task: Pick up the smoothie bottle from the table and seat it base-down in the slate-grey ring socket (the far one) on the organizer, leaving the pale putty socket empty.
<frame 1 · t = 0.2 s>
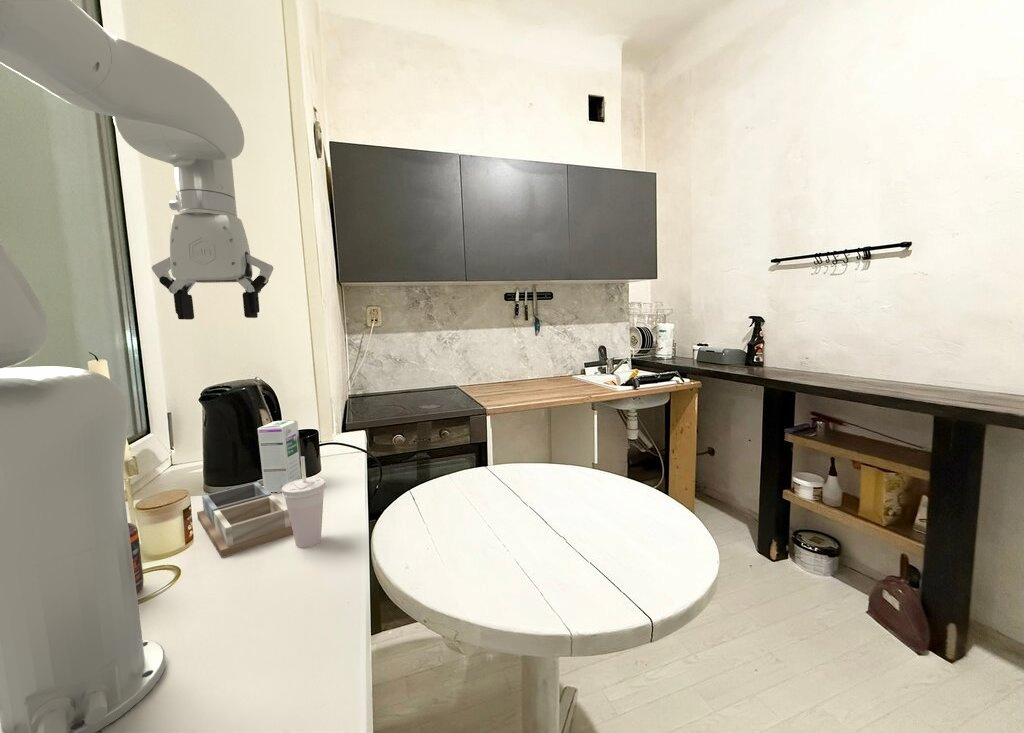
hand: (219, 318, 69), 37 cm above the table, tool pointing down, fingers open, 9 cm apart
smoothie: (308, 543, 69), on the table
supplement bottle: (115, 599, 56), on the table
syrup box: (284, 489, 93), on the table
organizer: (245, 524, 76), on the table
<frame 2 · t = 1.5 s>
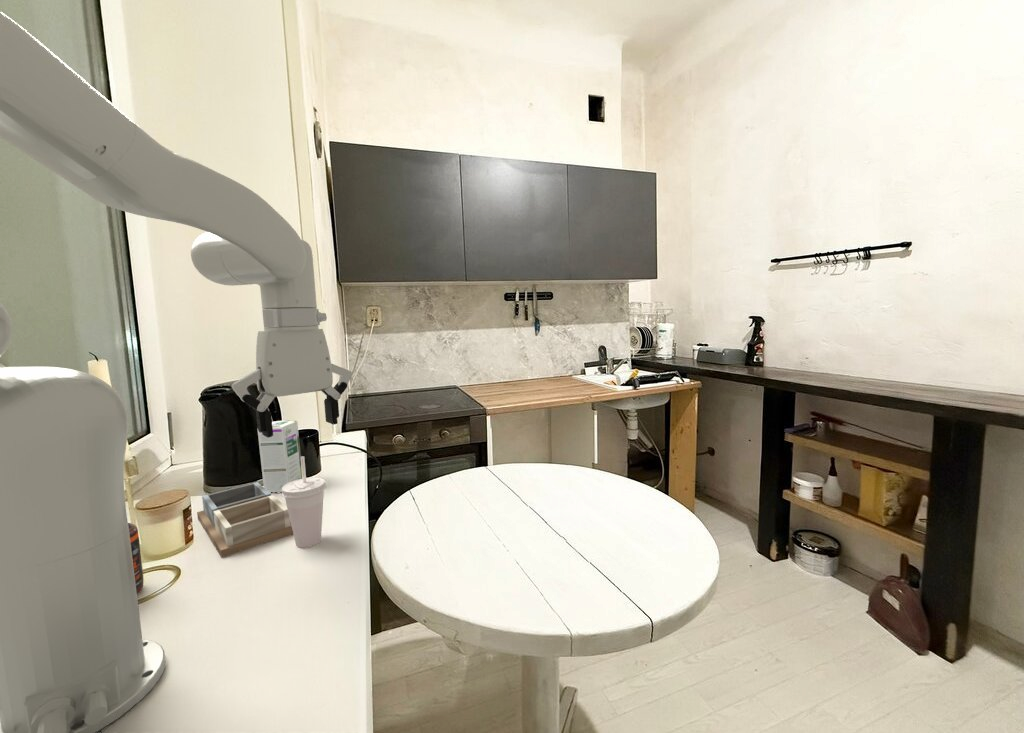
hand: (301, 429, 68), 19 cm above the table, tool pointing down, fingers open, 9 cm apart
nothing on the table moved.
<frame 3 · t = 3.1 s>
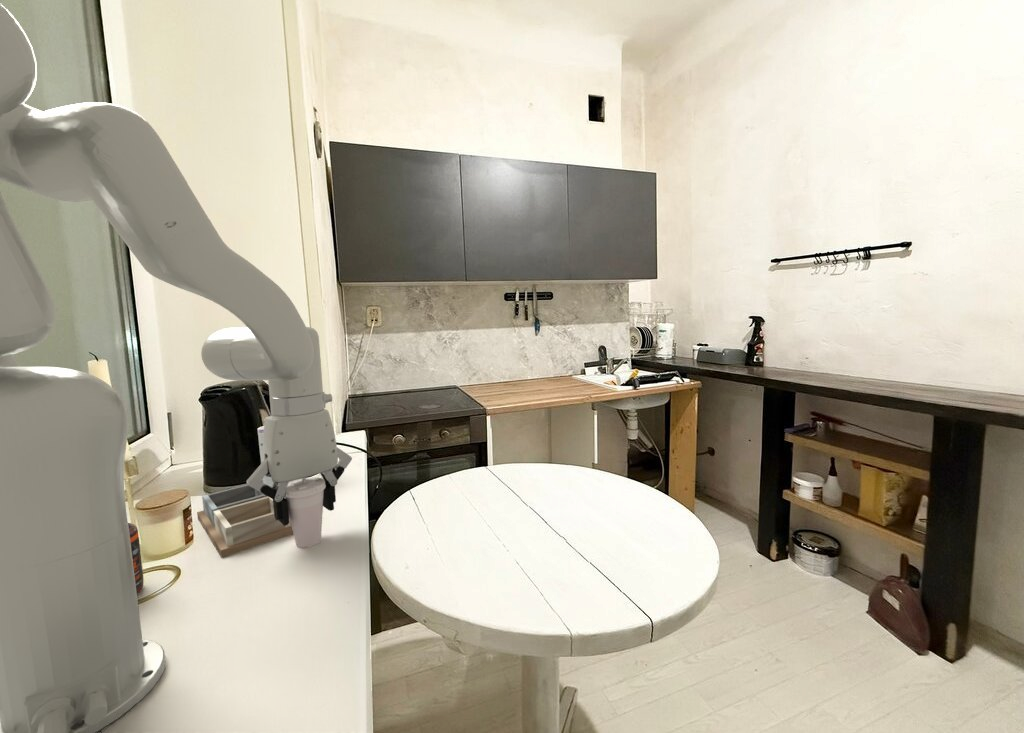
hand: (306, 514, 69), 5 cm above the table, tool pointing down, fingers closed on smoothie, 6 cm apart
smoothie: (308, 542, 69), on the table, touching gripper
everything else where it was.
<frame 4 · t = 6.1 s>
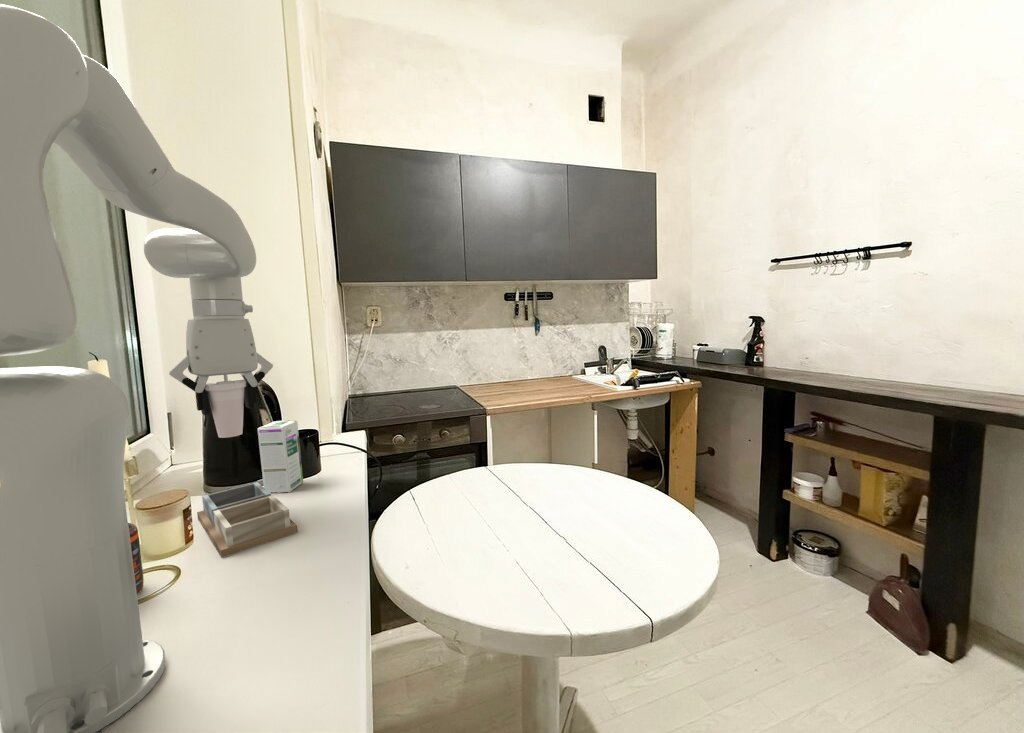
hand: (228, 410, 77), 20 cm above the table, tool pointing down, fingers closed on smoothie, 6 cm apart
smoothie: (230, 436, 78), point 15 cm above the table, touching gripper
everything else where it was.
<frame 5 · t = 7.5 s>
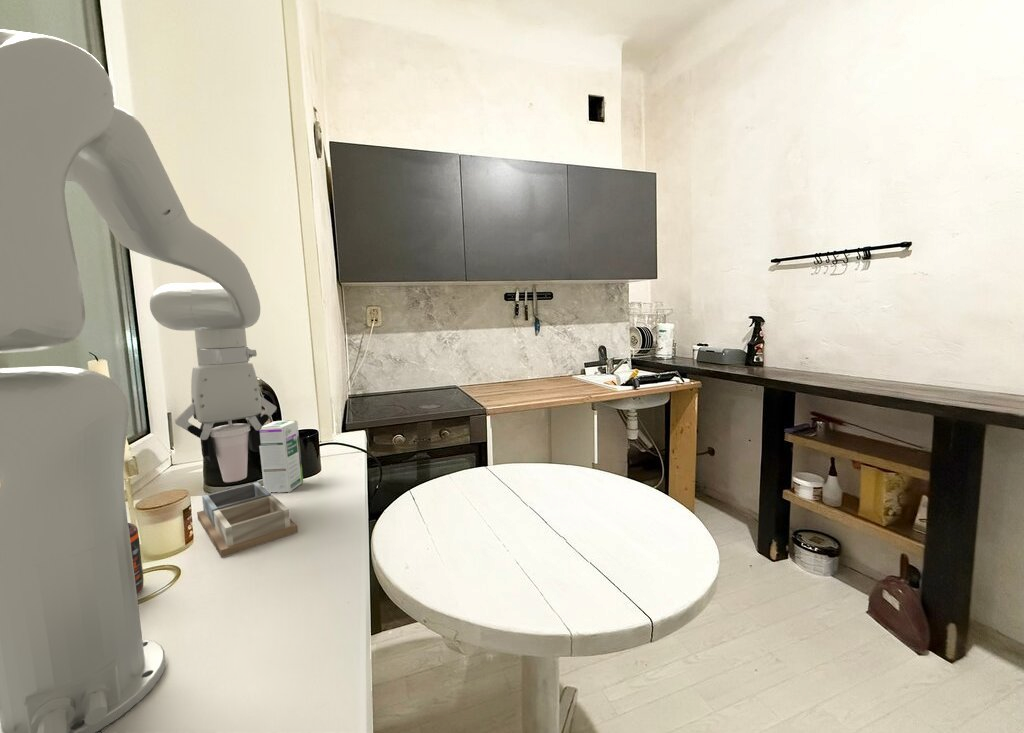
hand: (232, 454, 78), 12 cm above the table, tool pointing down, fingers closed on smoothie, 6 cm apart
smoothie: (235, 479, 79), point 7 cm above the table, touching gripper
everything else where it was.
when the fingers open (7 cm above the table, at t = 8.9 s): smoothie drops 1 cm, resting on organizer.
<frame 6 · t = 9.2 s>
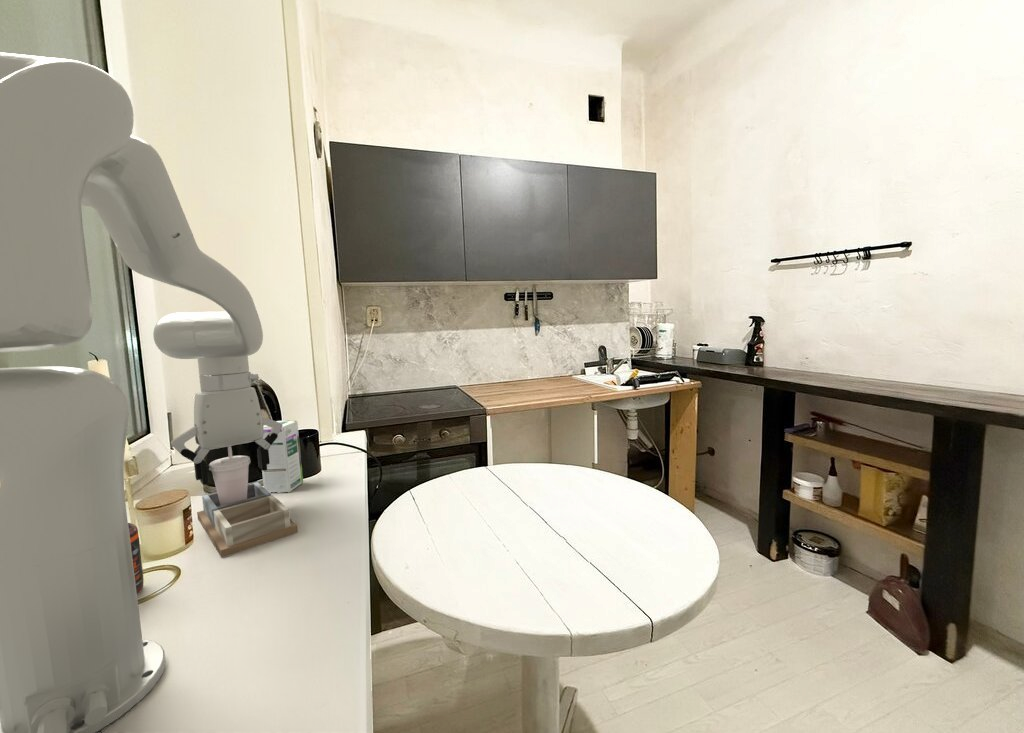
hand: (234, 475, 79), 8 cm above the table, tool pointing down, fingers open, 9 cm apart
smoothie: (234, 512, 79), point 1 cm above the table, touching organizer
everything else where it was.
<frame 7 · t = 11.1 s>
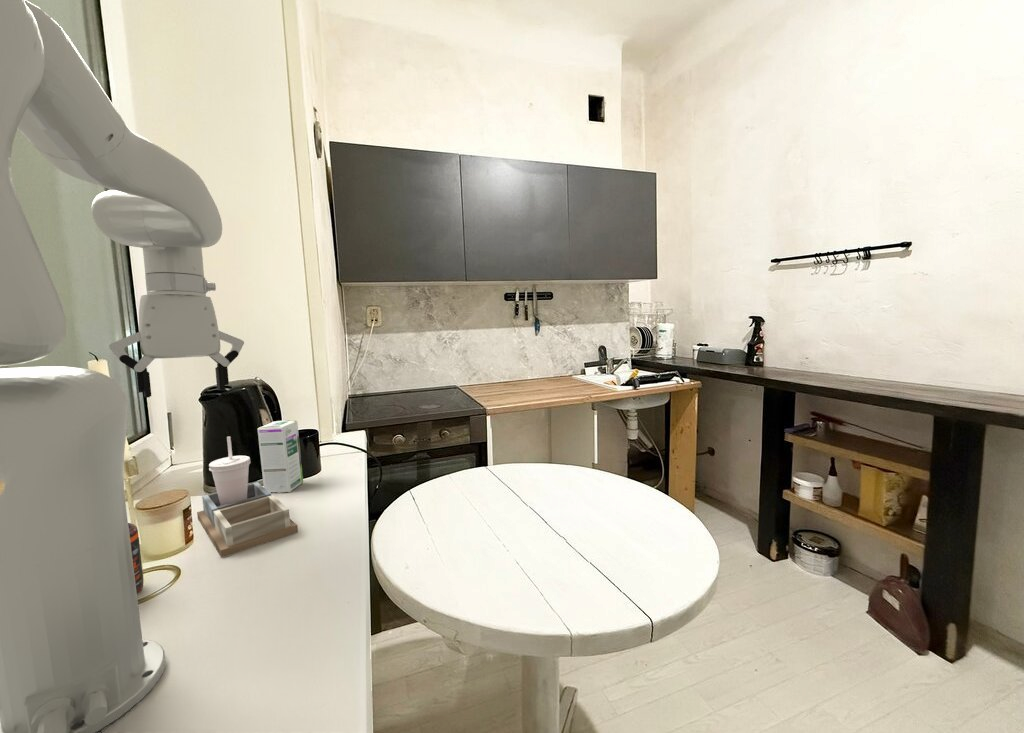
hand: (186, 393, 70), 25 cm above the table, tool pointing down, fingers open, 9 cm apart
nothing on the table moved.
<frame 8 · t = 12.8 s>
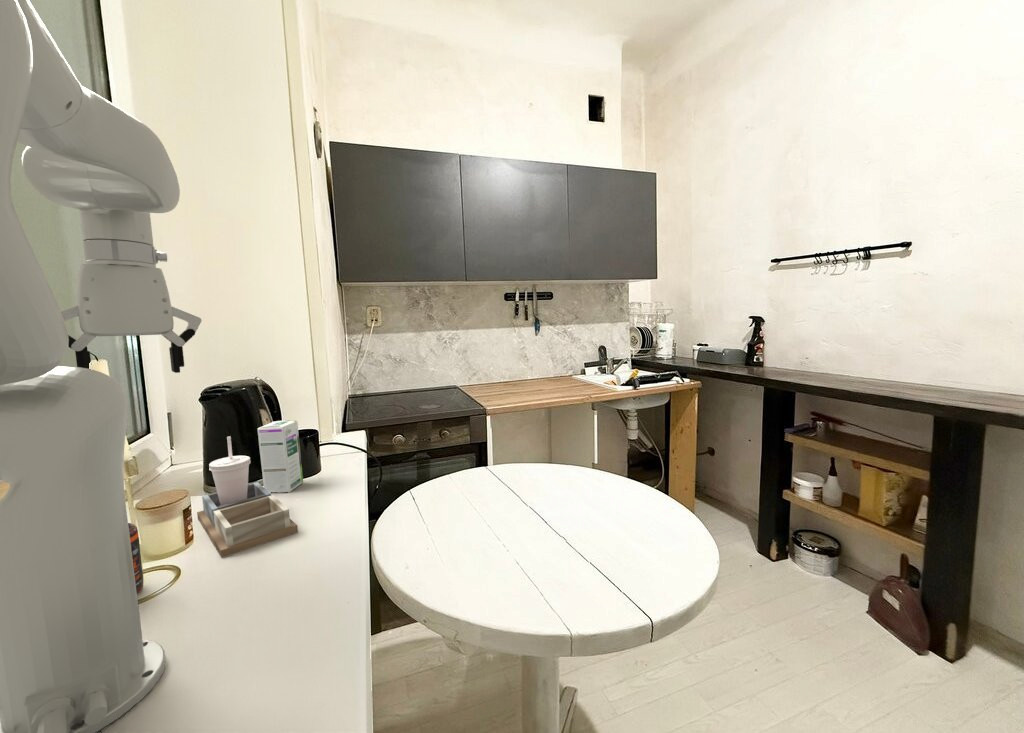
hand: (135, 375, 63), 28 cm above the table, tool pointing down, fingers open, 9 cm apart
nothing on the table moved.
at the end: smoothie 0.5 cm from the target spot on the organizer, point 1.0 cm above the organizer's base; smoothie tilted 0°; the gripper is holding nothing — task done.
